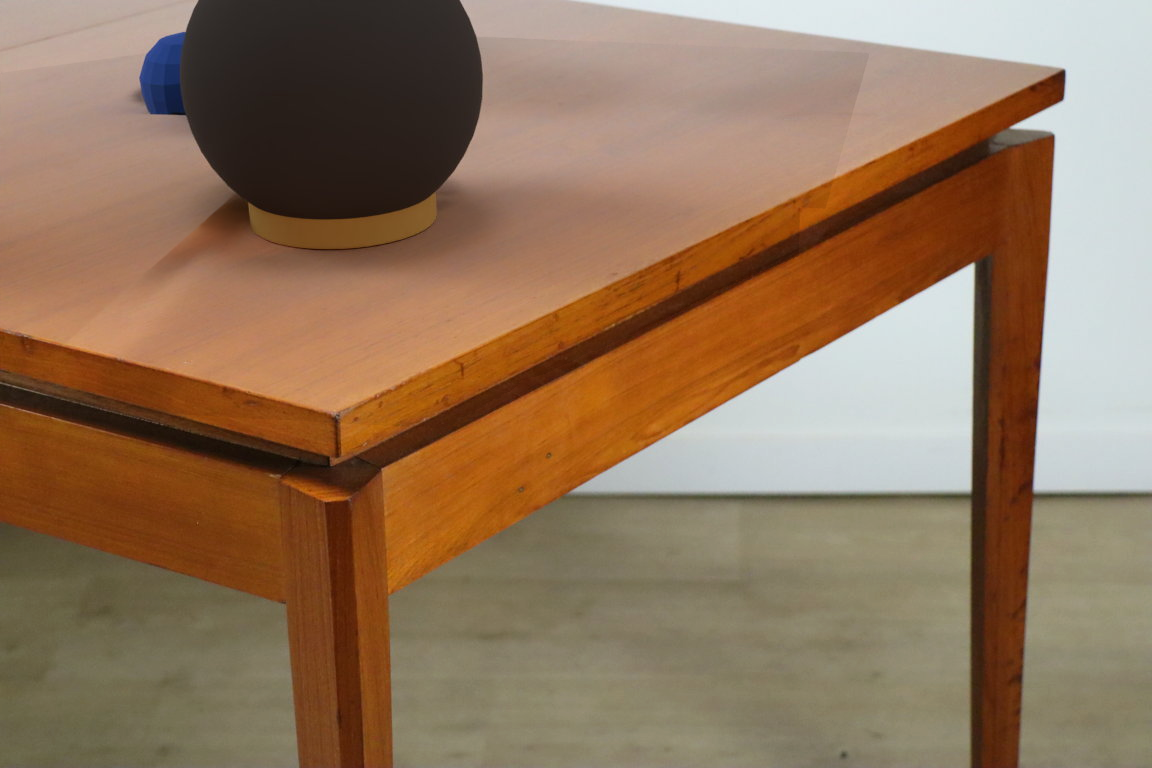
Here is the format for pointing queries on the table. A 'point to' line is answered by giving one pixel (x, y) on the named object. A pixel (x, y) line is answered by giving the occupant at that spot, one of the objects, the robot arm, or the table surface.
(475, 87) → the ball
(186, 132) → the table surface
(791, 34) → the table surface
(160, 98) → the toy
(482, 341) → the table surface
